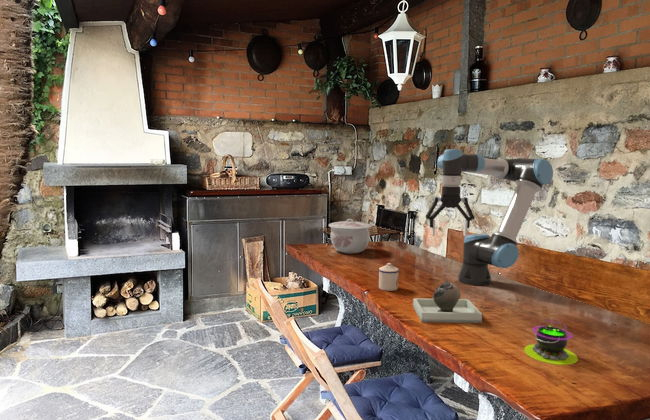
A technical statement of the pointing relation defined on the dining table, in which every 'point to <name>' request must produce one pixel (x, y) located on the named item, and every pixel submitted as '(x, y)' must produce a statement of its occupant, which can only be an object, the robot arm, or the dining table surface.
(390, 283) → the teacup with lid
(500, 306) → the dining table surface
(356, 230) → the chamber pot
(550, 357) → the toy cauldron
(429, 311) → the serving tray
